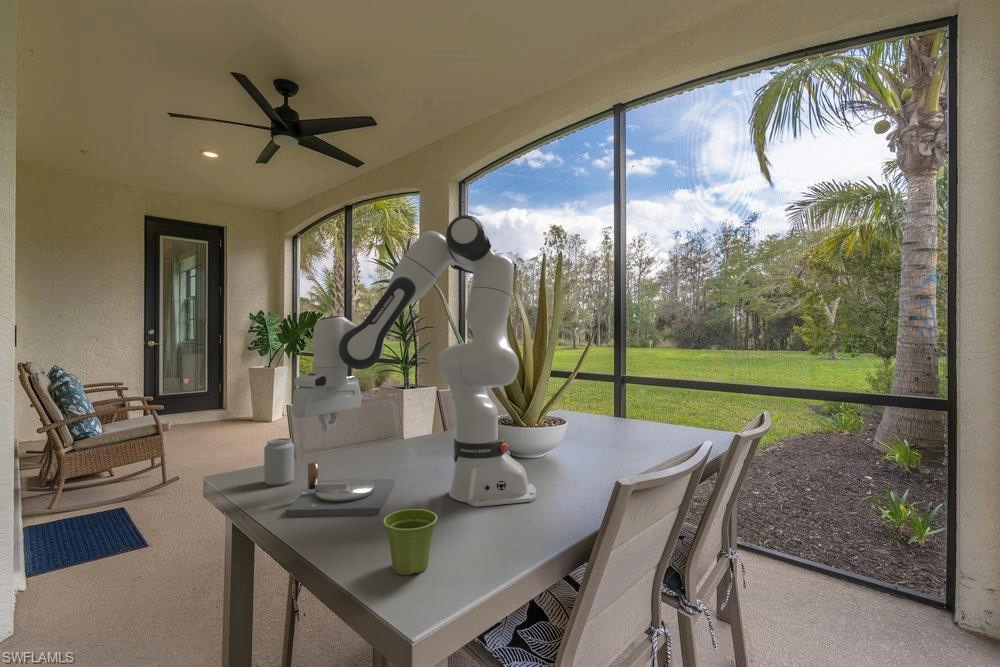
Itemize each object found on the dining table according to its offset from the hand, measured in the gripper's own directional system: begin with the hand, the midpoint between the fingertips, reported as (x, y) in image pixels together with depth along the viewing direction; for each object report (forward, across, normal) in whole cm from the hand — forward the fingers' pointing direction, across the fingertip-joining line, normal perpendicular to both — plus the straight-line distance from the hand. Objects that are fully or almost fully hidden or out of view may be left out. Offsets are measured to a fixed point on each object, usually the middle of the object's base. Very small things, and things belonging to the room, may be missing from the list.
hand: (328, 430), depth 121 cm
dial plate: (+16, +2, +8) cm, 18 cm away
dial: (+14, +2, +7) cm, 16 cm away
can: (+17, +1, -18) cm, 24 cm away
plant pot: (+16, +21, +44) cm, 52 cm away
